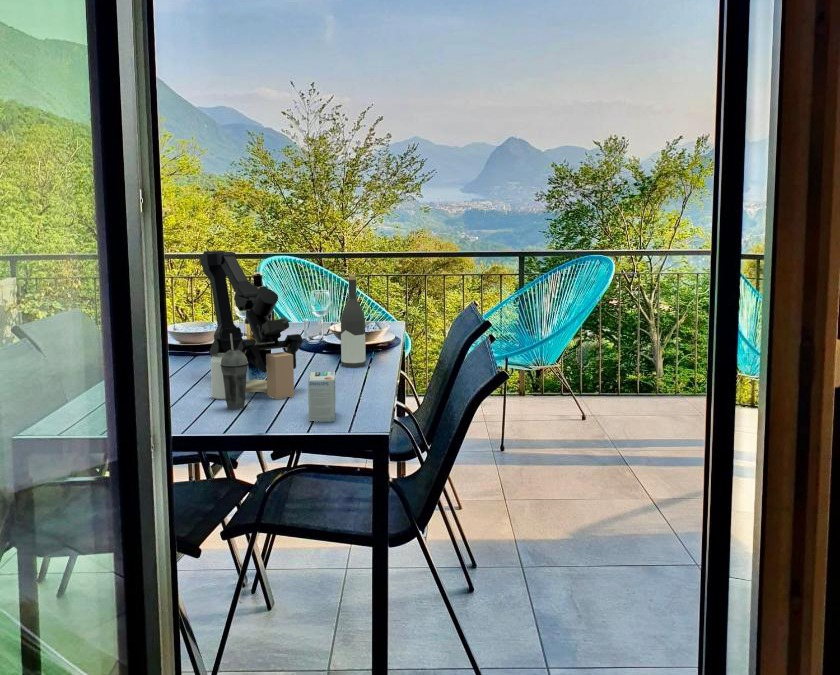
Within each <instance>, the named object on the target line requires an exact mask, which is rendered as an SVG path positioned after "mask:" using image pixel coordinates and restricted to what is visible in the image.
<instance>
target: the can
mask: <svg viewBox="0 0 840 675" xmlns="http://www.w3.org/2000/svg"><path fill="white" fill-rule="evenodd" d="M224 354H225V353H218V354H213V355H212V357H211V359H210V381H211V382H210V384H211V397H212V398H213V399H214V400H226V396H225V388H224V380H223V373H222V370H221V366H220V365H221V360H222V357H223V355H224Z"/></svg>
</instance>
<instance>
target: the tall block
mask: <svg viewBox="0 0 840 675" xmlns="http://www.w3.org/2000/svg"><path fill="white" fill-rule="evenodd" d="M265 359H266V360H265V363H266V364H265V367H266V370H267V371H266V380H267V393H266V394H267V395H268V396H271V397H273V398H272V399H274V398H275V399H274V400H276V399H278V400H281V399H280V398H284V399H288V398H287V397H291V398H293V397H292V396H294V397H295V382H294V380H295V378H294V376H295V375H294V372H295V371H294V370H295V369H293V355H292V354H289V353H286V352H284V351H281V352H273V353H266V355H265ZM267 395H266V396H267ZM268 396H267V397H268ZM271 397H270V398H271Z"/></svg>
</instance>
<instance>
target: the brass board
mask: <svg viewBox="0 0 840 675" xmlns="http://www.w3.org/2000/svg"><path fill="white" fill-rule="evenodd" d="M255 392H265V393H264V394H267V379H254V378H253V379H250V380H248V381H246V393H255Z"/></svg>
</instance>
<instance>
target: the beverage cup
mask: <svg viewBox="0 0 840 675" xmlns="http://www.w3.org/2000/svg"><path fill="white" fill-rule="evenodd" d="M230 339H231V349H232V350H229V351H227V352H226V353H225V354H224V355H223V357H222V360H221V365H220V366H221V370H222V373H223V380H224V388H225V396H226V399H225V403H226V408H227V409H228V410H240V408H242V409H244V408H245V404H246V393H247V392H246V382H247V373H248V369H249V368H248V367H249V362H248V361H247V358H246V356H245V354H244V353H243V352H241V351H240V350H236V349H234V350H233V340H232V334H230Z"/></svg>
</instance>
